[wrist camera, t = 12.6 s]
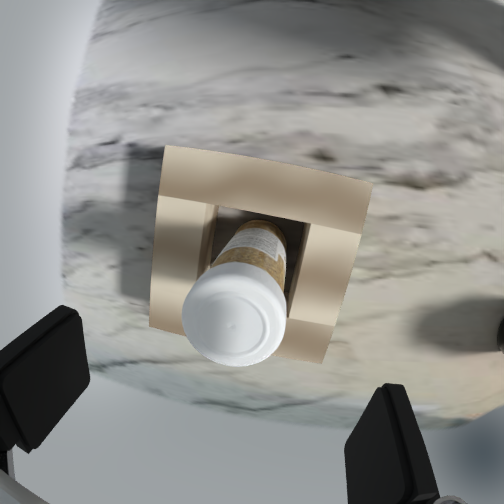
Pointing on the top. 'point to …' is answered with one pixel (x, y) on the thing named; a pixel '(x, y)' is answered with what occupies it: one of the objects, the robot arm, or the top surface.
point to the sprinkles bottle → (240, 298)
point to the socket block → (265, 202)
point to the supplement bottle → (501, 337)
